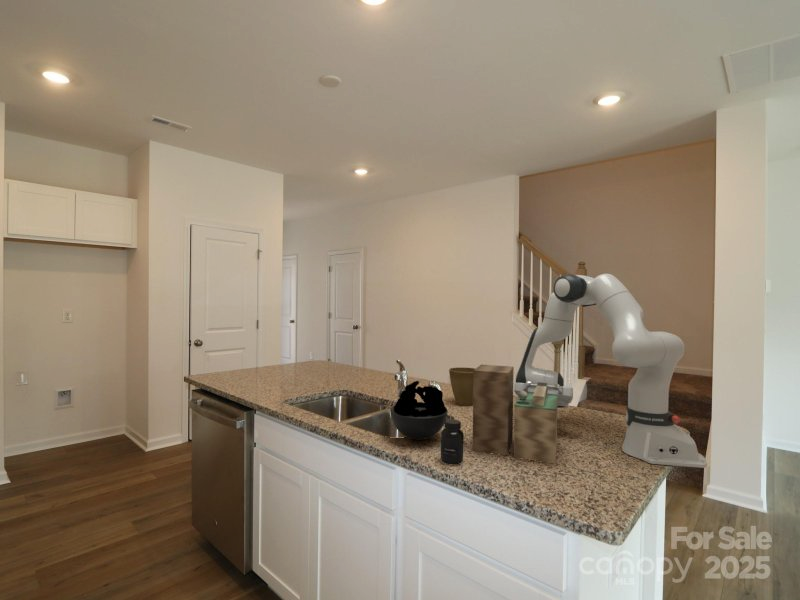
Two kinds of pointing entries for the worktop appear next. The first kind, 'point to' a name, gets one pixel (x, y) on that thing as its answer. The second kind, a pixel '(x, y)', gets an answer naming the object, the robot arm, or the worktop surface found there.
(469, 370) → the plant pot
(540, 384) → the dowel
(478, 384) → the walnut stand
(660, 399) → the robot arm
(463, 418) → the worktop surface
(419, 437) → the bowl of black rocks
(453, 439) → the supplement bottle
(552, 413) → the green topped wooden block
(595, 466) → the worktop surface
